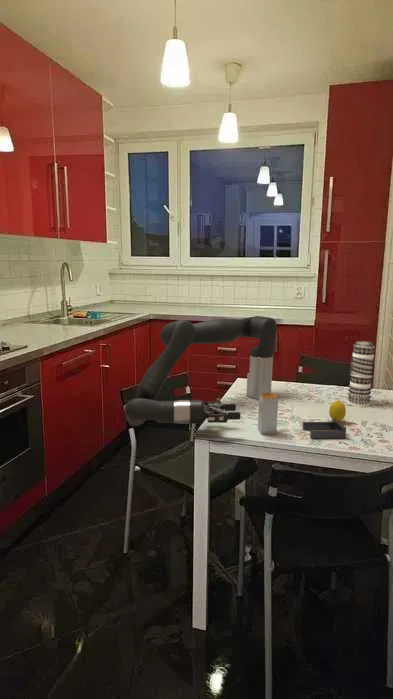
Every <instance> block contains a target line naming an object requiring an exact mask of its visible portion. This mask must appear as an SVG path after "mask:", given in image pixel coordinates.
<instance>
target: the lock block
mask: <svg viewBox="0 0 393 699" xmlns="http://www.w3.org/2000/svg"><path fill="white" fill-rule="evenodd" d="M278 409H279V398H278V396H277V395H276V393H275V392H271V393H261V394H260V395H259V399H258V418H257V430H258V432H259V433H260V435H265V436H266V435H272V436H273V435H274V436H275V435H277V428H278V427H277V426H278V412H279V410H278Z"/></svg>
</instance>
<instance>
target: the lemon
mask: <svg viewBox="0 0 393 699" xmlns="http://www.w3.org/2000/svg"><path fill="white" fill-rule="evenodd" d="M346 410H347V409H346V406H345V404H344V403H343V402H342V401H340V400H336V401H333V402H332V403H331V404H330V406H329V411H328V413H329V417H330V418H331V420H332V419H337V420H338V421H339V422H340V421H342V420H344V419H345V417H346V414H347V413H346V412H347V411H346Z"/></svg>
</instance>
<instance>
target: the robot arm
mask: <svg viewBox="0 0 393 699" xmlns="http://www.w3.org/2000/svg"><path fill="white" fill-rule="evenodd" d="M277 333H278V325H277V320H275V319H274V318H272V317H269V316H263V315H262V316H260V315H256V316H255V315H254V316H250V317H246V318H216V319H210V320H204V321H201V322H196V323H192V322H191V321H189V320H186V319H180V320H176V321H172V322H169V323H167V324H166V325H164V327H162V329H161V331H160V334H159V335H160V340H161V342H162V344H164V345H165V346H166V347H165V349H163V352H162V353H160V355H159V356H158V357H157V358H156V359H155V361H153V363H152V364H151V365H150V366H149V368H147V370H146V372H145V373H144V375H143V377H142V379H141V381H140V382H139V383H138V386H137V389H136V390H137V392H136V394H135V396H134V398H132V399H130V400H128V401H127V402H126V404H125V405H124V414H125V418H126V421H127V423H129V424H130V425H131V426H135V427H139V426H141V425H143V424H144V423H145V422H147V421H148V420H149V421H155V422H157V423H159V424H160V423H161V424H181V425H182V424H184V425H185V424H186V425H189V424H191V425H192V424H193V425H194V424H196V425H197V424H203V422H204V419H206V420H207V422H208V423H209V424H211V423H212V424H213V423H214V424H215V423H216V424H220V423H221V424H226V423H228V421H234V420H241V412H239V411H238V412H237V411H236V410H237V404H236V403H224V402H223V401H203V400H202V399H179V400H178V399H177V400H162V401H161V400H156V399H157V397H158V395H159V394H160V392H161V390H162V389H163V386H164V384H165V383H166V381H167V379H168V377H169V375H170V374H171V372H172V370H173V369H174V368H175V366H176V365H177V363H178V362H179V360H180V359H181V357H182V356H184V353H185V352H186V351H187V350H188V348H189V347H190V345H196V344H198V345H201V344H202V345H211V344H212V345H214V344H215V345H216V344H225V343H226V344H228V343H232V342H235V341H236V340H237V339H239V338H252V339H258V340H259V342H258V345H257V346H255V347H254V346H253V347H252V348H251V349H250V353H249V354H250V356H249V372H247V375H246V395H245V396H248V397H249V398H251V399H256V400H259V395H260V394H261V393H272V382H273V381H272V380H273V362H274V360H273V359H274V352H275V350H276V345H277V335H278V334H277Z"/></svg>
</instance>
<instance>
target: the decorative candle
mask: <svg viewBox="0 0 393 699" xmlns="http://www.w3.org/2000/svg"><path fill="white" fill-rule="evenodd" d="M352 346H353V351H352V354H351V355H350V358H349V359H350V361H351V362H350V363H349V364H350V365H349V366H350V367H349V369H350V372H349V374H350V381H349V385H348V388H349V389H348V393H347V404H349V405H351V406H354V407H359V408H360V407H361V408H363V407H364V408H365V407H369V406H370V402H371V394H372V391H371V390H372V383H371V382H372V378H373V375H374V373H373V372H374V368H373V367H375V364H374V363H375V362H376V360H374V358H375V355H374V351H375V348H376V345H373V342H371V341H365V340H364V341H363V340H360V341H356V342H355V344H353V345H352Z"/></svg>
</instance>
